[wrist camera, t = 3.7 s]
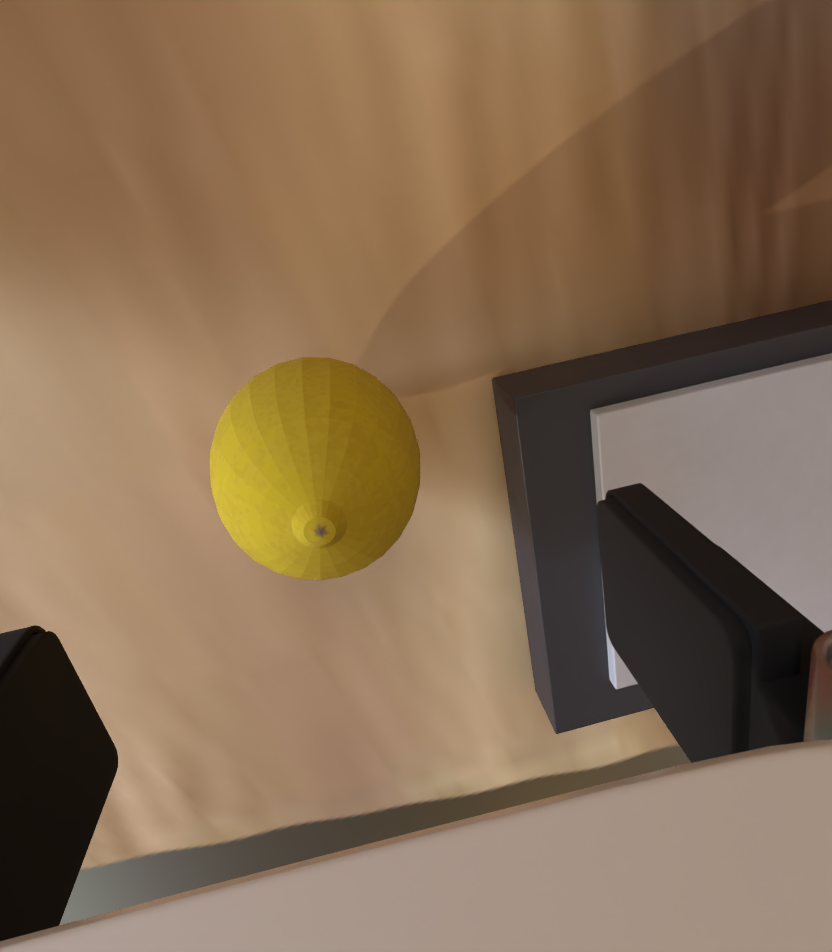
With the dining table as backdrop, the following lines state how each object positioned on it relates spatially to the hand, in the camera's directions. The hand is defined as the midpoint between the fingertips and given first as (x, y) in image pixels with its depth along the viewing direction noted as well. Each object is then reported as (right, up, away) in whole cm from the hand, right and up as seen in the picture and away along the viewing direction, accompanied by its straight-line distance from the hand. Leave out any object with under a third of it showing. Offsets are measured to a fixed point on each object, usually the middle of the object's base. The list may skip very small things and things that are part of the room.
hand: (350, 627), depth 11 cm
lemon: (-2, +5, +10) cm, 11 cm away
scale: (+13, 0, +14) cm, 19 cm away
